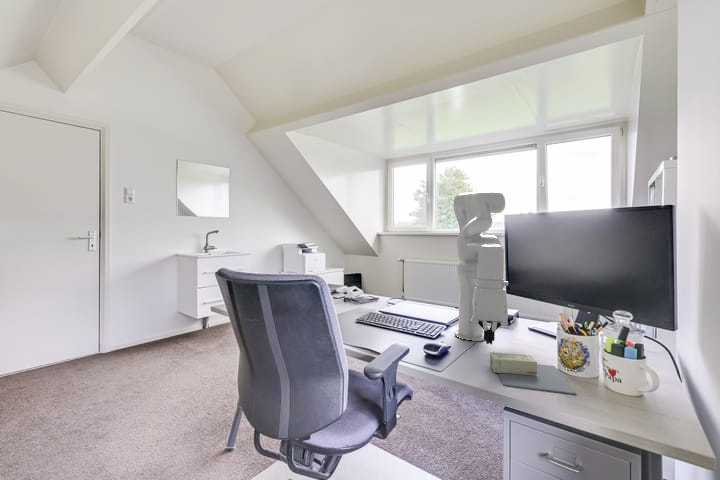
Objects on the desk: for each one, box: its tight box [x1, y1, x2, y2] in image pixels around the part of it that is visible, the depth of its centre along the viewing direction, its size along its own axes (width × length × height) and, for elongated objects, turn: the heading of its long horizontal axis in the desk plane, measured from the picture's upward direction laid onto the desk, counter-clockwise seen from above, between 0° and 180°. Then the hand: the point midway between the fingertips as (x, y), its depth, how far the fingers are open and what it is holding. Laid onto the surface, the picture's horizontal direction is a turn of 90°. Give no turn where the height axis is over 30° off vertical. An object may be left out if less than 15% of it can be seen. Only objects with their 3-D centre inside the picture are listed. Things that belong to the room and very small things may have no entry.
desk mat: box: [498, 363, 577, 396], centre depth 96 cm, size 18×18×1 cm
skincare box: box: [489, 351, 538, 376], centre depth 99 cm, size 6×4×12 cm
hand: (488, 342), depth 100 cm, fingers closed
